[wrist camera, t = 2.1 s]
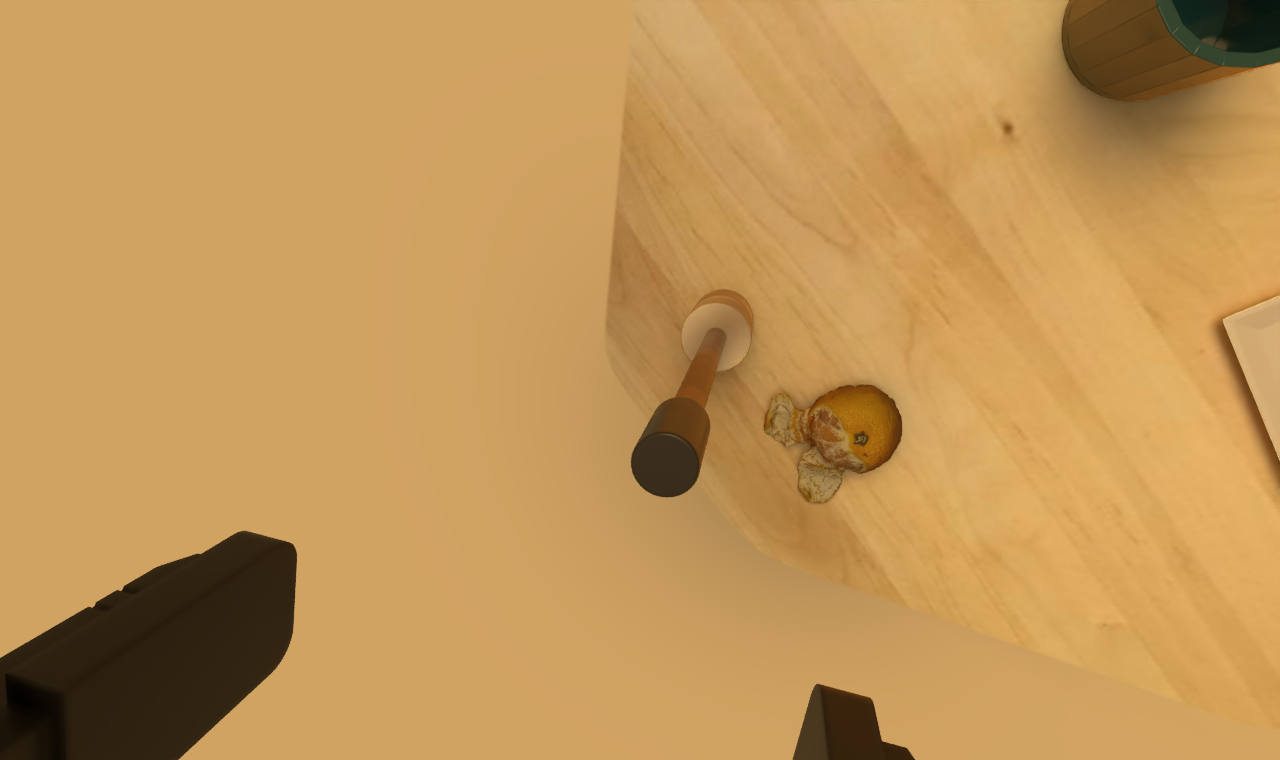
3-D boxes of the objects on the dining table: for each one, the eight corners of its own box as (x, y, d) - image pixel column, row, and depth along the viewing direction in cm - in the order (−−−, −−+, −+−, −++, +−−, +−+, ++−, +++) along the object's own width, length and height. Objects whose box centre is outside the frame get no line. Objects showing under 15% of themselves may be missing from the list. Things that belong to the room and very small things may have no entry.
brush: (680, 321, 47) (569, 466, 21) (720, 277, 46) (658, 369, 19) (724, 361, 47) (671, 556, 21) (766, 317, 46) (765, 464, 19)
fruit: (751, 406, 48) (750, 422, 44) (864, 347, 46) (872, 359, 42) (810, 507, 49) (813, 530, 45) (923, 454, 47) (936, 474, 43)
